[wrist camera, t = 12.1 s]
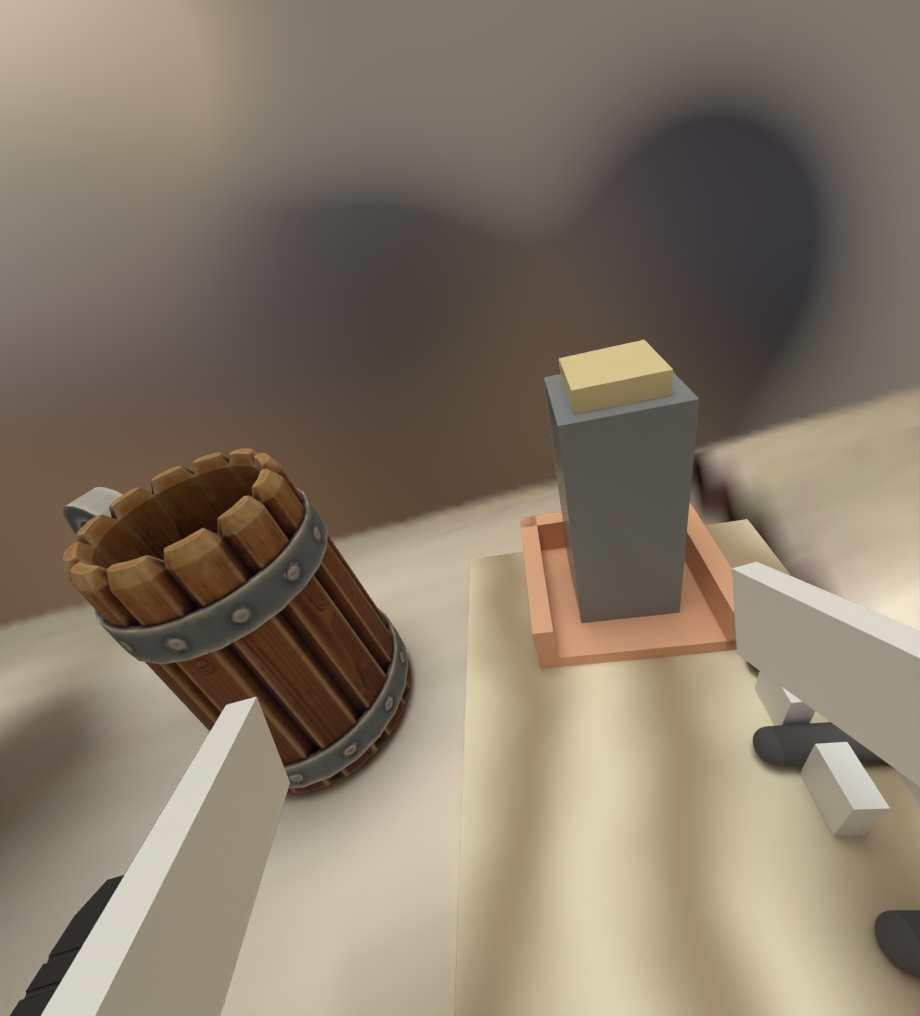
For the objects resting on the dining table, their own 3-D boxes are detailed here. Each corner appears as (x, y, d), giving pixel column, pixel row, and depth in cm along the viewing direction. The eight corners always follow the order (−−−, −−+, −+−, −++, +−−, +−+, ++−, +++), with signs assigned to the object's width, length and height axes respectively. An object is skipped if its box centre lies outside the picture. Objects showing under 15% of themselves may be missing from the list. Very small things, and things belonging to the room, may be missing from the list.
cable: (856, 981, 13) (871, 973, 12) (706, 658, 21) (709, 640, 20) (1210, 990, 11) (1255, 983, 10) (896, 640, 20) (908, 621, 19)
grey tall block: (581, 623, 23) (555, 402, 16) (567, 558, 27) (541, 356, 20) (679, 612, 22) (701, 372, 15) (650, 547, 26) (656, 331, 19)
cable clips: (832, 836, 15) (854, 809, 14) (754, 688, 19) (763, 656, 18) (974, 833, 14) (1013, 804, 13) (860, 680, 19) (879, 645, 17)
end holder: (540, 668, 23) (532, 633, 21) (526, 551, 30) (520, 518, 28) (747, 648, 21) (757, 609, 19) (680, 529, 28) (683, 492, 26)
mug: (444, 643, 27) (352, 431, 18) (349, 835, 20) (124, 638, 11) (270, 602, 34) (144, 436, 25) (154, 734, 27) (-78, 564, 18)
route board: (458, 1183, 12) (448, 1190, 12) (474, 571, 31) (470, 559, 31) (1296, 1285, 9) (1352, 1301, 8) (744, 533, 28) (747, 519, 27)
